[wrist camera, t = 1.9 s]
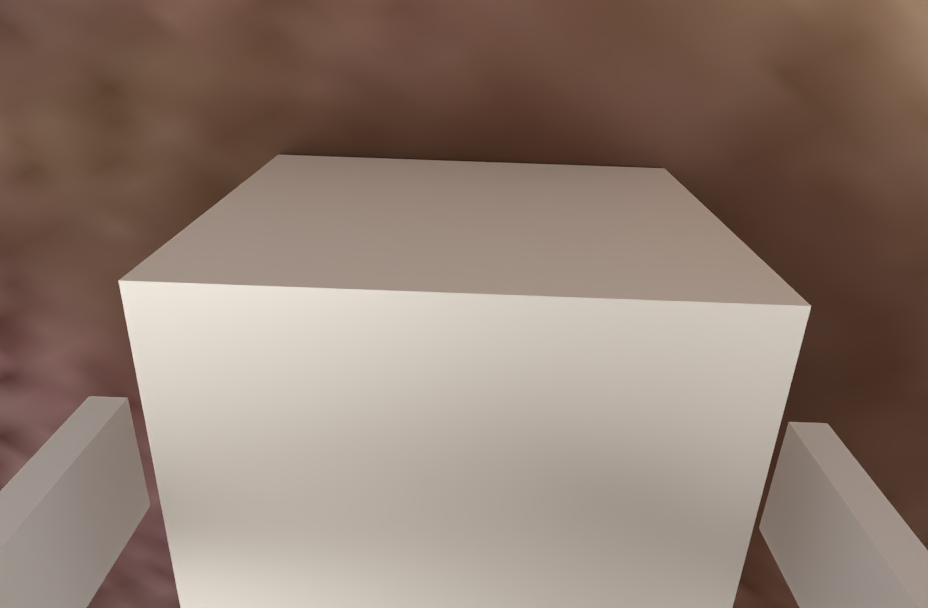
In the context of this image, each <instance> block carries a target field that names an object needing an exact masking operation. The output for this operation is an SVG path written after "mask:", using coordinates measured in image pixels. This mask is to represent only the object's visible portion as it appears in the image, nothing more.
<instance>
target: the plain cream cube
mask: <svg viewBox="0 0 928 608" xmlns="http://www.w3.org/2000/svg"><path fill="white" fill-rule="evenodd" d="M118 281H119V286H120V291H121V297H122V302H123V307H124V312H125V318H126V323H127V328H128V333H129V339H130V344H131V349H132V354H133V360H134V365H135V370H136V376H137V381H138V386H139V391H140V397H141V402H142V407H143V412H144V418H145V423H146V428H147V433H148V439H149V444H150V449H151V454H152V460H153V465H154V470H155V476H156V481H157V486H158V491H159V497H160V502H161V507H162V512H163V518H164V523H165V528H166V533H167V539H168V544H169V549H170V555H171V560H172V565H173V570H174V576H175V581H176V586H177V591H178V597H179V602H180V607H181V608H732V607H733V603H734V600H735V596H736V592H737V588H738V584H739V580H740V577H741V573H742V569H743V565H744V561H745V558H746V554H747V550H748V546H749V542H750V538H751V535H752V531H753V527H754V523H755V519H756V516H757V512H758V508H759V504H760V500H761V496H762V493H763V489H764V485H765V481H766V477H767V473H768V470H769V466H770V462H771V458H772V454H773V451H774V447H775V443H776V439H777V435H778V431H779V428H780V424H781V420H782V416H783V412H784V409H785V405H786V401H787V397H788V393H789V389H790V386H791V382H792V378H793V374H794V370H795V367H796V363H797V359H798V355H799V351H800V347H801V344H802V340H803V336H804V332H805V328H806V324H807V321H808V317H809V313H810V309H811V305H810V304H809V303H807V302H806V301H805V300H804V299H803V298H802V297H801V296H800V295H799V294H798V293H797V292H796V291H795V290H794V289H793V288H792V287H790V286H789V285H788V284H787V283H786V282H785V281H784V280H783V279H782V278H781V277H780V276H779V275H778V274H777V273H776V272H774V271H773V270H772V269H771V268H770V267H769V266H768V265H767V264H766V263H765V262H764V261H763V260H762V259H761V258H760V257H758V256H757V255H756V254H755V253H754V252H753V251H752V250H751V249H750V248H749V247H748V246H747V245H746V244H745V243H744V242H743V241H741V240H740V239H739V238H738V237H737V236H736V235H735V234H734V233H733V232H732V231H731V230H730V229H729V228H728V227H727V226H725V225H724V224H723V223H722V222H721V221H720V220H719V219H718V218H717V217H716V216H715V215H714V214H713V213H712V212H711V211H709V210H708V209H707V208H706V207H705V206H704V205H703V204H702V203H701V202H700V201H699V200H698V199H697V198H696V197H695V196H693V195H692V194H691V193H690V192H689V191H688V190H687V189H686V188H685V187H684V186H683V185H682V184H681V183H680V182H679V181H678V180H676V179H675V178H674V177H673V176H672V175H671V174H670V173H669V172H668V171H667V170H666V169H665V168H641V167H613V166H585V165H557V164H529V163H501V162H472V161H444V160H416V159H388V158H360V157H331V156H303V155H277V156H276V157H275V158H274V159H272V160H271V161H270V162H268V163H267V164H266V165H265V166H263V167H262V168H261V169H260V170H258V171H257V172H256V173H254V174H253V175H252V176H251V177H249V178H248V179H247V180H246V181H244V182H243V183H242V184H240V185H239V186H238V187H237V188H235V189H234V190H233V191H232V192H230V193H229V194H228V195H226V196H225V197H224V198H223V199H221V200H220V201H219V202H218V203H216V204H215V205H214V206H213V207H211V208H210V209H209V210H207V211H206V212H205V213H204V214H202V215H201V216H200V217H199V218H197V219H196V220H195V221H193V222H192V223H191V224H190V225H188V226H187V227H186V228H185V229H183V230H182V231H181V232H179V233H178V234H177V235H176V236H174V237H173V238H172V239H171V240H169V241H168V242H167V243H165V244H164V245H163V246H162V247H160V248H159V249H158V250H157V251H155V252H154V253H153V254H152V255H150V256H149V257H148V258H146V259H145V260H144V261H143V262H141V263H140V264H139V265H138V266H136V267H135V268H134V269H132V270H131V271H130V272H129V273H127V274H126V275H125V276H124V277H122V278H121V279H120V280H118Z"/></svg>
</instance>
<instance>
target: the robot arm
mask: <svg viewBox="0 0 928 608" xmlns="http://www.w3.org/2000/svg"><path fill="white" fill-rule="evenodd" d="M149 507H150V501H149V497H148V492H147V487H146V482H145V478H144V473H143V468H142V464H141V459H140V454H139V449H138V445H137V440H136V435H135V430H134V426H133V421H132V416H131V411H130V407H129V402H128V398H124V397H97V396H89V397H88V398H87V399H86V400H85V401H84V402H83V403H82V404H81V405H80V407H79V408H78V409H77V410H76V411H75V412H74V413H73V414H72V415H71V416H70V417H69V418H68V419H67V420H66V421H65V423H64V424H63V425H62V426H61V427H60V428H59V429H58V430H57V431H56V432H55V433H54V434H53V435H52V436H51V437H50V439H49V440H48V441H47V442H46V443H45V444H44V445H43V446H42V447H41V448H40V449H39V450H38V451H37V452H36V453H35V455H34V456H33V457H32V458H31V459H30V460H29V461H28V462H27V463H26V464H25V465H24V466H23V467H22V468H21V470H20V471H19V472H18V473H17V474H16V475H15V476H14V477H13V478H12V479H11V480H10V481H9V482H8V483H7V484H6V486H5V487H4V488H3V489H2V490H1V491H0V608H87V606H88V605H89V603H90V601H91V600H92V598H93V597H94V595H95V593H96V592H97V590H98V589H99V587H100V585H101V584H102V582H103V581H104V579H105V577H106V576H107V574H108V573H109V571H110V569H111V568H112V566H113V565H114V563H115V561H116V560H117V558H118V557H119V555H120V553H121V552H122V550H123V549H124V547H125V545H126V544H127V542H128V541H129V539H130V537H131V536H132V534H133V533H134V531H135V529H136V528H137V526H138V525H139V523H140V521H141V520H142V518H143V517H144V515H145V513H146V512H147V510H148V509H149ZM759 529H760V531H761V533H762V535H763V537H764V539H765V541H766V543H767V545H768V547H769V549H770V551H771V553H772V555H773V557H774V559H775V561H776V563H777V565H778V567H779V569H780V571H781V573H782V574H783V576H784V578H785V580H786V582H787V584H788V586H789V588H790V590H791V592H792V594H793V596H794V598H795V600H796V602H797V604H798V606H799V608H928V550H927V549H926V548H925V547H924V545H923V544H922V543H921V541H920V540H919V539H918V538H917V536H916V535H915V534H914V533H913V531H912V530H911V529H910V527H909V526H908V525H907V524H906V522H905V521H904V520H903V519H902V517H901V516H900V515H899V514H898V512H897V511H896V510H895V508H894V507H893V506H892V505H891V503H890V502H889V501H888V500H887V498H886V497H885V496H884V494H883V493H882V492H881V491H880V489H879V488H878V487H877V486H876V484H875V483H874V482H873V481H872V479H871V478H870V477H869V475H868V474H867V473H866V472H865V470H864V469H863V468H862V467H861V465H860V464H859V463H858V461H857V460H856V459H855V458H854V456H853V455H852V454H851V453H850V451H849V450H848V449H847V447H846V446H845V445H844V444H843V442H842V441H841V440H840V439H839V437H838V436H837V435H836V434H835V432H834V431H833V430H832V428H831V427H830V426H829V425H828V423H808V422H788V426H787V429H786V433H785V437H784V440H783V444H782V447H781V451H780V454H779V458H778V462H777V465H776V469H775V472H774V476H773V479H772V483H771V487H770V490H769V494H768V497H767V501H766V505H765V508H764V512H763V515H762V519H761V522H760V526H759Z"/></svg>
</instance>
